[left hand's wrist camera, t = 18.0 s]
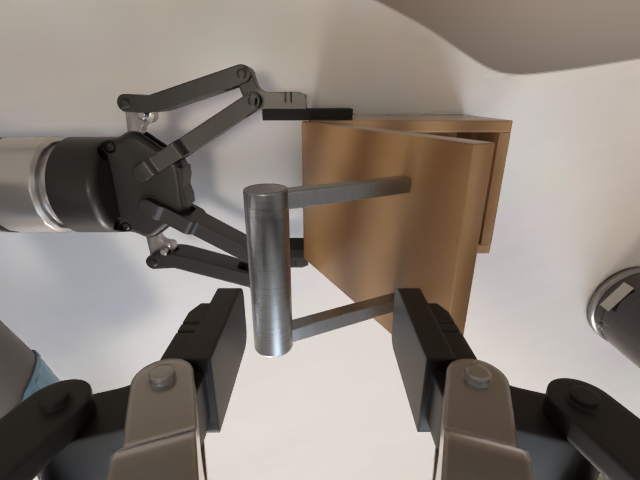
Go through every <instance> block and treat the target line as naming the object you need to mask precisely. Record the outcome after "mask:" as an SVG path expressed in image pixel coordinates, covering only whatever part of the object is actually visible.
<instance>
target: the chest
mask: <svg viewBox="0 0 640 480" xmlns="http://www.w3.org/2000/svg"><path fill="white" fill-rule="evenodd" d="M309 121H320V122H329V123H337V124H345V125H354V126H362V127H370V128H379V129H387V130H395V131H404V132H412V133H420V134H428V135H437V136H445V137H453V138H462V139H470V140H478V141H487V142H493V143H495V145H494V151H493V157H492V163H491V169H490V175H489V182H488V188H487V194H486V200H485V206H484V212H483V218H482V224H481V230H480V236H479V243H478V249H477V253H489V250H490V244H491V240H492V235H493V229H494V223H495V218H496V212H497V206H498V201H499V195H500V189H501V184H502V178H503V172H504V167H505V161H506V155H507V150H508V144H509V139H510V132H511V127H512V120H504V119H495V118H487V117H478V116H470V115H353V120H309Z"/></svg>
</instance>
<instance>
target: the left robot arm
mask: <svg viewBox="0 0 640 480" xmlns="http://www.w3.org/2000/svg"><path fill="white" fill-rule="evenodd" d="M587 315H588V321H589V324H590V326H591V327H592V329H593V330H594V331H595V332H596V333H597V334H598V335H600V336H601V337H602V338H603V339H605V340H606V341H608V342H610V343H611V344H612V345H613V346H614V347H615V348H617V349H618V350H619V351H620V352H621V353H622V354H623V355H625V356H626V357H627V358H628V359H629V360H631V361H632V362H633V363H634V364H635V365H637V366H638V367H639V368H640V267H637V268H631V269H628V270H625V271H622V272H620V273H618V274H616V275H614V276H612V277H611V278H609V279H608V280H606V281H605V282H604V283H603V284H602V285H601V286H600V287H599V288H598V289H597V290H596V292H595V293H594V295H593V296H592V298H591V300H590V303H589V306H588V313H587ZM392 344H393V349H394V352H395V356H396V359H397V363H398V366H399V370H400V373H401V376H402V380H403V383H404V387H405V390H406V394H407V397H408V400H409V404H410V407H411V411H412V414H413V418H414V421H415V424H416V428H417V431H418V432H431V434H432V437H433V440H434V443H435V452H434V462H433V473H432V480H597V479H598V476H599V474H600V473H601V474H602V475H603V476H604V477H605V478H606V479H607V480H640V419H639V418H638V417H637V416H635V415H634V414H633V413H631V412H630V411H629V410H628V409H626V408H625V407H624V406H622V405H621V404H620V403H619V402H617V401H616V400H615V399H613V398H612V397H611V396H609V395H608V394H607V393H605V392H604V391H602V390H601V389H599V388H597V387H595V386H593V385H591V384H588V383H586V382H583V381H579V380H575V379H569V378H560V379H555V380H553V381H551V382H550V383H549V384H548V387H547V390H546V394H543V393H539V392H534V391H530V390H525V389H521V388H517V387H513V386H510V385H509V382H508V380H507V378H506V377H505V375H504V374H503V373H502V372H501V371H500V370H498V369H497V368H496V367H494V366H492V365H490V364H488V363H486V362H483V361H480V360H477V358H476V357H475V355H474V353H473V352H472V350H471V348H470V347H469V345H468V343H467V342H466V340H465V338H464V337H463V335H462V333H460V330H459V328H458V327H457V325H456V324H455V322H454V320H453V318H452V317H451V315H450V313H449V312H448V311H447V310H445V309H444V308H443V307H441V306H440V305H439V304H437V303H428V302H427V300H426V299H425V297H424V295H423V293H422V291H421V289H420V288H396V290H395V297H394V309H393V321H392ZM245 345H246V319H245V307H244V296H243V290H242V289H241V288H219V289H217V291H216V293H215V295H214V297H213V299H212V301H211V302H210V303H201V304H200V305H198V306H197V307H196V308H194V309H193V310H192V311H190V312H189V313H188V315H187V317H186V318H185V320H184V322H183V325H181V327H180V328H179V330H178V333H176V335H175V336H174V338H173V340H172V341H171V343H170V345H169V346H168V348H167V350H166V351H165V353H164V355H163V356H162V358H161V359H160V361H157V362H154V363H152V364H150V365H148V366H146V367H144V368H143V369H142V370H140V371H139V372H138V373H137V374H136V375H135V377H134V378H133V380H132V382H131V385H129V386H126V387H123V388H119V389H115V390H110V391H106V392H101V393H97V394H93V393H92V389H91V386H90V385H89V384H88V383H87V382H85V381H83V380H77V379H71V380H64V381H60V382H56V383H53V384H51V385H48V386H46V387H44V388H42V389H40V390H38V391H37V392H35V393H33V394H32V395H31V396H29V397H28V398H27V399H25V400H24V401H23V402H21V403H20V404H19V405H18V406H16V407H15V408H14V409H12V410H11V411H10V412H9V413H7V414H6V415H5V416H3V417H2V418H1V419H0V480H33V479H34V478H35V477H36V476H37V477H38V479H39V480H208V473H207V462H206V452H205V445H204V439H205V436H206V433H207V432H220V430H221V427H222V424H223V420H224V417H225V414H226V410H227V407H228V403H229V400H230V397H231V393H232V390H233V387H234V383H235V380H236V377H237V373H238V370H239V367H240V363H241V360H242V357H243V353H244V350H245Z"/></svg>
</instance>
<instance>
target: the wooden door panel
mask: <svg viewBox="0 0 640 480" xmlns="http://www.w3.org/2000/svg"><path fill="white" fill-rule="evenodd" d="M494 145H495V143H493V142H487V141H478V140H470V139H462V138H453V137H445V136H437V135H428V134H420V133H412V132H404V131H395V130H387V129H379V128H370V127H362V126H354V125H345V124H337V123H329V122H320V121H302V164H303V186H300V187H291V188H287V187H286V186H283V185H279V184H256V185H251V186H248V187H246V188H244V190H243V195H244V209H245V222H246V235H247V249H248V262H249V276H250V289H251V302H252V316H253V329H254V342H255V349H256V351H257V352H258V353H259V354H260V355H262V356H265V357H279V356H282V355H284V354H286V353H288V352H289V351H290V350H291V348H292V345H293V342H294V341H298V340H301V339H304V338H308V337H311V336H314V335H318V334H321V333H324V332H328V331H331V330H334V329H338V328H341V327H344V326H348V325H351V324H355V323H358V322H361V321H365V320H368V319H371V318H374V319H375V320H376V321H377V322H378V323H379V324H381V325H382V326H383V327H384V328H385V329H386V330H387V331H389V332H390V333H391V334H392V321H393V309H394V297H395V290H396V288H420V289H421V291H422V293H423V295H424V297H425V299H426V300H427V302H428V303H437V304H439V305H440V306H441V307H443V308H444V309H445V310H447V311H448V312H449V313H450V315H451V317H452V318H453V320H454V322H455V324H456V325H457V327H458V328H459V330H460V333H462V335H463V334H464V328H465V322H466V316H467V310H468V303H469V297H470V291H471V285H472V279H473V273H474V267H475V261H476V255H477V249H478V243H479V236H480V230H481V224H482V218H483V212H484V206H485V200H486V194H487V188H488V182H489V175H490V169H491V163H492V157H493V151H494ZM302 207H303V226H304V258H305V259H306V260H307V261H308V262H309V263H310V264H312V265H313V266H314V267H315V268H316V269H317V270H318V271H320V272H321V273H322V274H323V275H324V276H325V277H326V278H328V279H329V280H330V281H331V282H332V283H333V284H335V285H336V286H337V287H338V288H339V289H340V290H341V291H343V292H344V293H345V294H346V295H347V296H348V297H349V298H351V299H352V300H353V301H354V302H355V303H353V304H349V305H346V306H342V307H338V308H335V309H331V310H327V311H324V312H320V313H316V314H313V315H309V316H305V317H302V318H298V319H294V320H292V302H291V269H290V237H289V209H294V208H302Z"/></svg>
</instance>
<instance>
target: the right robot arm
mask: <svg viewBox="0 0 640 480" xmlns="http://www.w3.org/2000/svg"><path fill="white" fill-rule="evenodd" d="M239 87H240V90H241V92H242V95H243V97H241V98H240V99H238V100H237V101H235V102H234V103H232V104H231V105H229V106H228V107H226V108H225V109H223V110H222V111H220V112H219V113H217V114H216V115H214V116H213V117H211V118H210V119H208V120H207V121H205V122H204V123H202V124H201V125H199V126H198V127H196V128H195V129H193V130H192V131H190V132H189V133H187V134H186V135H184V136H183V137H181V138H180V139H178V140H176V141H174V142H172V143H171V144H169V145H166V144H165V143H163V142H162V141H160V140H159V139H157V138H156V137H154V136H153V135H151V134H150V133H148V132H146V128H147V126H148V125H149V124H150V123H154V122H156V121H157V120H158V117H159V114H158V112H164V111H170V110H174V109H177V108H180V107H183V106H186V105H189V104H192V103H195V102H198V101H201V100H204V99H207V98H210V97H212V96H215V95H218V94H221V93H224V92H227V91H230V90H233V89H236V88H239ZM117 104H118V106H119V108H120V109H121V110H123V111H125V112H126V119H127V127H128V132H127V133H125V134H124V135H122V136H120V137H68V138H65V139H63V138H59V137H4V138H0V232H71V231H76V232H128V231H131V232H136V233H139V234H141V235H143V236H145V237H147V241H148V245H149V249H150V254H151V255H150V256H149V257H148V258H147V259H146V263H147V265H148V266H149V267H150V268H153V269H160V268H178V269H181V270H185V271H189V272H193V273H197V274H201V275H204V276H208V277H212V278H216V279H220V280H224V281H227V282H231V283H235V284H239V285H243V286H247V287H250V276H249V262H248V249H247V235H246V234H244V233H242V232H240V231H238V230H237V229H235V228H233V227H231V226H229V225H227V224H225V223H223V222H222V221H220V220H218V219H216V218H214V217H212V216H210V215H208V214H207V213H206V212H205V211H204V210H203V209H202V208H200V207H198V206H196V205H194V204H193V202H194V201H195V198H194V191H193V189H192V186H191V184H190V180H191V165H190V164H188V163H187V161H186V159H185V158H186V157H188V156H189V155H191V154H192V153H194V152H195V151H197V150H198V149H199V148H201V147H202V146H204V145H205V144H207V143H209V142H210V141H212V140H213V139H215V138H216V137H218V136H219V135H221V134H222V133H224V132H225V131H227V130H229V129H230V128H232V127H233V126H235V125H236V124H238V123H239V122H241V121H242V120H244V119H245V118H247V117H249V116H250V115H252V114H253V113H255V112H256V111H258V110H262V114H263V120H353V109H351V108H307V103H306V95H305V94H303V93H300V92H265V91H263V90H262V89H261V88H260V86H259V84H258V81H257V79H256V76H255V72H254V70H253V69H252V68H250V67H248V66H246V65H243V64H240V65H236V66H233V67H230V68H227V69H224V70H221V71H218V72H215V73H213V74H210V75H207V76H204V77H201V78H198V79H195V80H192V81H189V82H186V83H183V84H180V85H177V86H175V87H172V88H169V89H166V90H163V91H160V92H157V93H154V94H151V95H142V94H122V95H120V96H119V97H118V99H117ZM170 226H171V227H173V228H175V229H177V230H178V231H180V232H182V233H185V234H192V235H194V236H196V237H198V238H200V239H202V240H204V241H206V242H208V243H210V244H212V245H214V246H216V247H218V248H220V249H222V250H224V251H225V252H227V253H229V254H231V255H233V256H235V257H237V258H235V257H231V256H227V255H224V254H220V253H216V252H213V251H209V250H205V249H201V248H198V247H194V246H190V245H184V244H177V241H176V240H174V239H168V238H166V237H165V236H164V235H163V233H162V232H163V231H164V230H166V229H167V228H168V227H170ZM307 265H308V261H307V260H306V259H305V258H304V238H290V267H304V266H307ZM56 382H60V380H59V379H58V378H57V377H56V376H55V374H54V373H53V372H52V371H51V370H50V368H49V367H48V366H47V365H46V363H45V362H44V361H43V360H42V359H41V357H40V355H39V353H38V352H37V351H36V350H31V349H30V348H29V347H27V346H26V345H25V344H24V343H23V342H22V341H21V340H20V339H19V338H18V337H17V336H16V335H15V334H14V333H13V332H12V331H11V330H10V329H9V328H8V327H7V326H6V325H5V324H3V323H2V322H1V321H0V419H1V418H2V417H3V416H5V415H6V414H7V413H9V412H10V411H11V410H12V409H14V408H15V407H16V406H18V405H19V404H20V403H21V402H23V401H24V400H25V399H27V398H28V397H29V396H31V395H32V394H33V393H35V392H37V391H38V390H40V389H42V388H44V387H46V386H48V385H51V384H53V383H56Z"/></svg>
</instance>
